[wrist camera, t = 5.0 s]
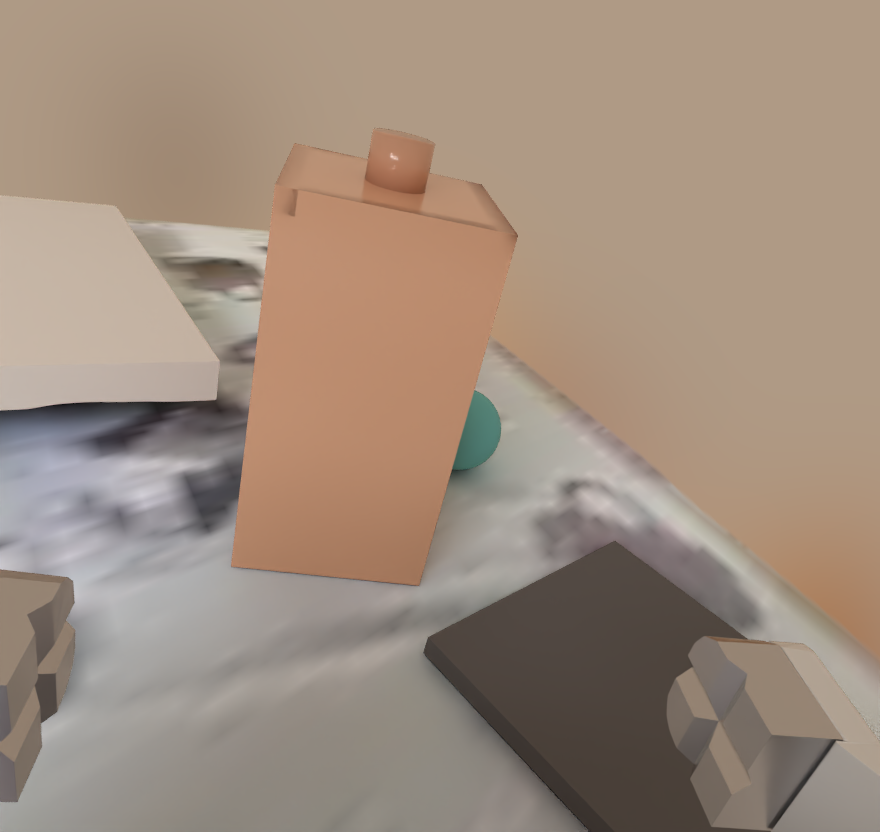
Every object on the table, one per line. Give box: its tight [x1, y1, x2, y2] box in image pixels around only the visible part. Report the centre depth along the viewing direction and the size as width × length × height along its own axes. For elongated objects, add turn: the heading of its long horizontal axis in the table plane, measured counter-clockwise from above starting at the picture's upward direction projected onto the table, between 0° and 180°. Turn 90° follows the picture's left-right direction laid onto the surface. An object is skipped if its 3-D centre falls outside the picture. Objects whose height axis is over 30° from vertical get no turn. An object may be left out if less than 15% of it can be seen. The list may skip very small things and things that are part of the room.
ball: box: [452, 390, 501, 470], centre depth 28 cm, size 3×3×3 cm
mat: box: [423, 541, 771, 832], centre depth 20 cm, size 9×9×1 cm
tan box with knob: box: [231, 128, 518, 586], centre depth 21 cm, size 6×6×12 cm
